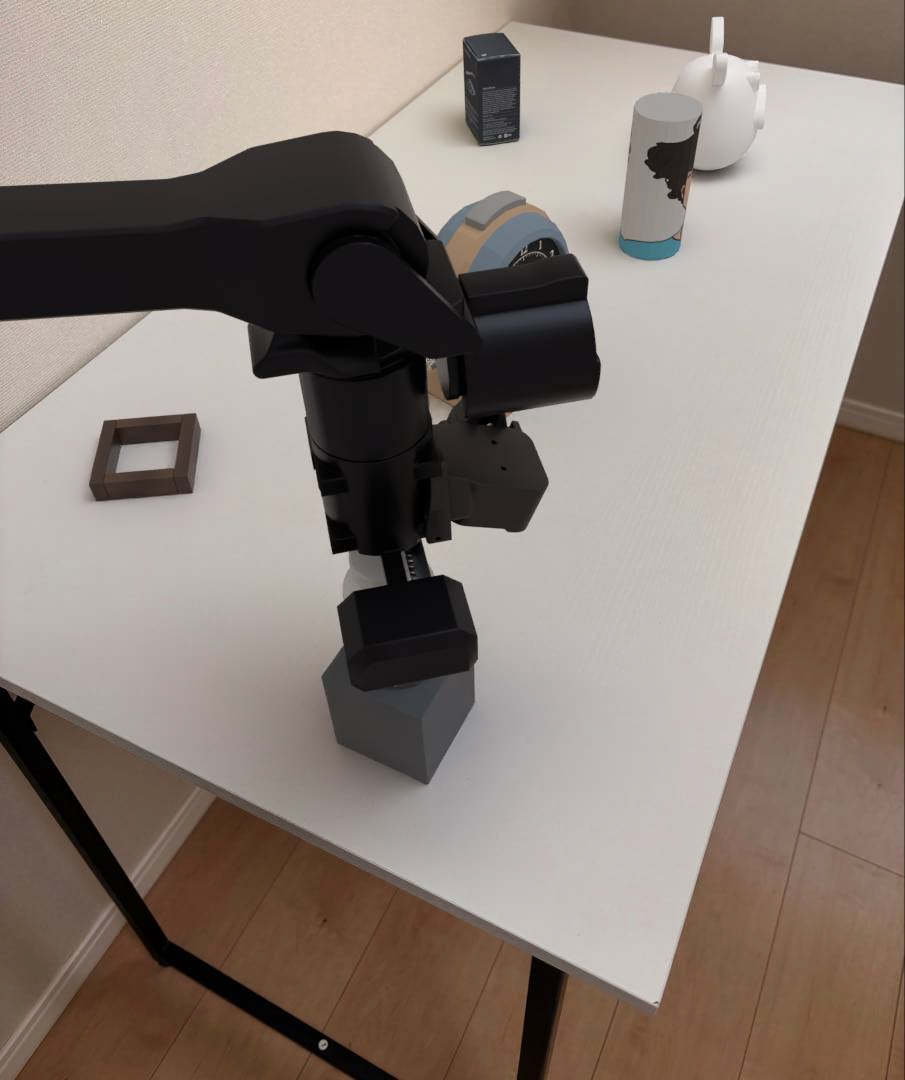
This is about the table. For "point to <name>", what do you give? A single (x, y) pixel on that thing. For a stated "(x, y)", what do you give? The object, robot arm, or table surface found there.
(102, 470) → the holder
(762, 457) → the table surface
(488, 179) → the table surface
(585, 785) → the table surface
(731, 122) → the piggy bank
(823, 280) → the table surface
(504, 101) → the box
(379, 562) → the pill bottle
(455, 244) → the alarm clock
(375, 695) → the block
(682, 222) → the white cylinder
